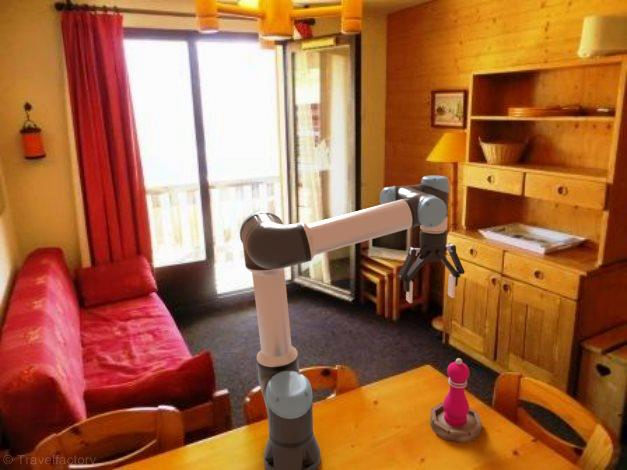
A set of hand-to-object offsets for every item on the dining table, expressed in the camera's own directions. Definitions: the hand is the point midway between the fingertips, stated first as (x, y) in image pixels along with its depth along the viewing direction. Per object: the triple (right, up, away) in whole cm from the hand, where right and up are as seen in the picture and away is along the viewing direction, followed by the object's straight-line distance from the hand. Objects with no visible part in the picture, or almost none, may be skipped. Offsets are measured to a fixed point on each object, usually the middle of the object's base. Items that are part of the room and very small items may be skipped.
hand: (430, 298), depth 139 cm
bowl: (+6, -37, -3) cm, 37 cm away
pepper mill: (+6, -35, -4) cm, 36 cm away
